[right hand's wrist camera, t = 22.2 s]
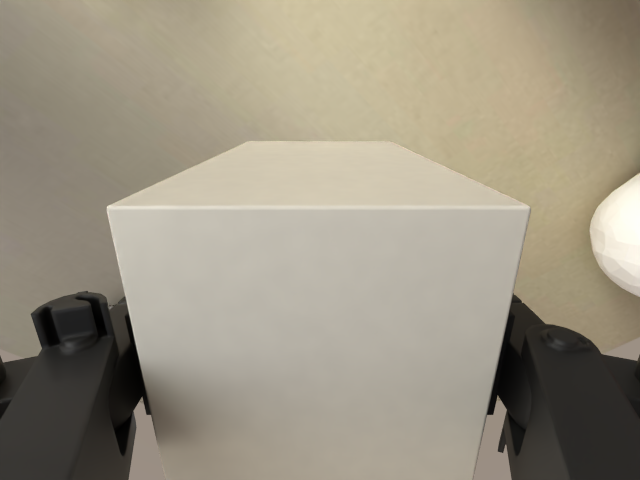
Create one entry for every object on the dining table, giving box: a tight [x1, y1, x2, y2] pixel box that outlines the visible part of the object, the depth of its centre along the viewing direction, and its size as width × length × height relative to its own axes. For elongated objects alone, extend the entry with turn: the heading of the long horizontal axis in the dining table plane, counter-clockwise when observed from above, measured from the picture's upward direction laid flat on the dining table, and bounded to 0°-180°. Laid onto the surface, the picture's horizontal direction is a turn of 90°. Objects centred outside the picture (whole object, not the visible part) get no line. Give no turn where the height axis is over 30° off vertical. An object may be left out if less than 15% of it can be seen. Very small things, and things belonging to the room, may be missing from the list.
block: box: [107, 141, 531, 480], centre depth 12 cm, size 8×7×12 cm
